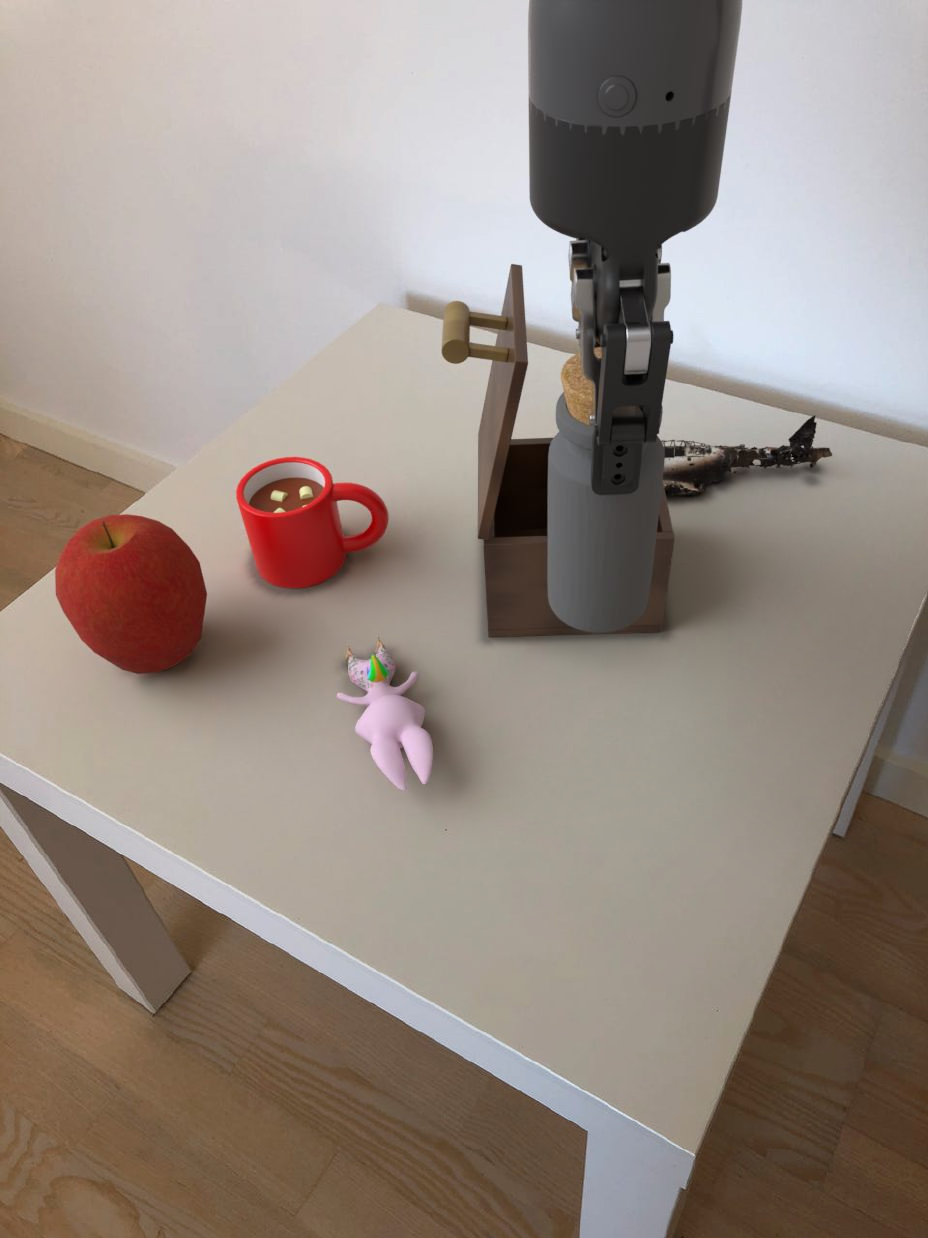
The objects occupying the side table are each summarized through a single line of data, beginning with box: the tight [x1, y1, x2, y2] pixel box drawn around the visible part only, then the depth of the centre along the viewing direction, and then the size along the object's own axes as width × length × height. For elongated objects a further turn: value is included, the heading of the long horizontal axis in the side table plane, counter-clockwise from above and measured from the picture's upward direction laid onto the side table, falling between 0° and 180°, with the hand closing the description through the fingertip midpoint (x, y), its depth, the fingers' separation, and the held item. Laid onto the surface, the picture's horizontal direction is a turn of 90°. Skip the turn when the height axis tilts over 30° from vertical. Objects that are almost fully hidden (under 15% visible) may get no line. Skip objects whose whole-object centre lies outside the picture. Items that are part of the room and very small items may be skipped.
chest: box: [482, 437, 676, 638], centre depth 75 cm, size 14×13×10 cm
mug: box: [235, 456, 390, 589], centre depth 80 cm, size 8×12×8 cm, turn 95°
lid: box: [441, 263, 529, 541], centre depth 66 cm, size 14×13×5 cm
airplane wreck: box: [661, 414, 833, 497], centre depth 85 cm, size 6×18×6 cm, turn 94°
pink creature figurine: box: [336, 634, 434, 792], centre depth 67 cm, size 6×6×15 cm
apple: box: [54, 513, 208, 675], centre depth 70 cm, size 10×10×14 cm
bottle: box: [548, 347, 665, 633], centre depth 50 cm, size 6×6×15 cm
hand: (607, 448), depth 47 cm, fingers closed on bottle, 5 cm apart
